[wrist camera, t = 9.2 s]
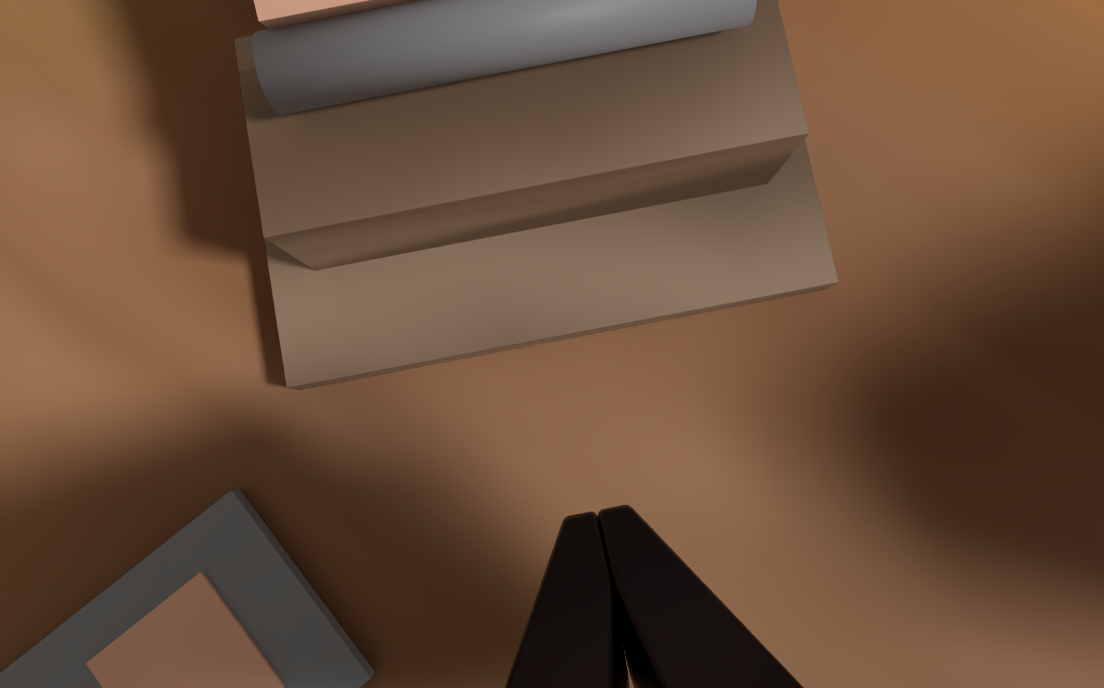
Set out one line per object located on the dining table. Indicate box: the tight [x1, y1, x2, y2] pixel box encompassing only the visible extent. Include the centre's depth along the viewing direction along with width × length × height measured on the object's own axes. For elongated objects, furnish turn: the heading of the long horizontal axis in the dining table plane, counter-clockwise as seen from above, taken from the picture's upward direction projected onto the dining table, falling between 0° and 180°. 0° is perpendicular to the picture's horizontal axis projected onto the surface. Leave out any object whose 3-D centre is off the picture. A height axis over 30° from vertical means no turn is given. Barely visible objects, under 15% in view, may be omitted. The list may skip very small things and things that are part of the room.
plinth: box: [234, 0, 838, 390], centre depth 16 cm, size 8×12×4 cm, turn 101°
